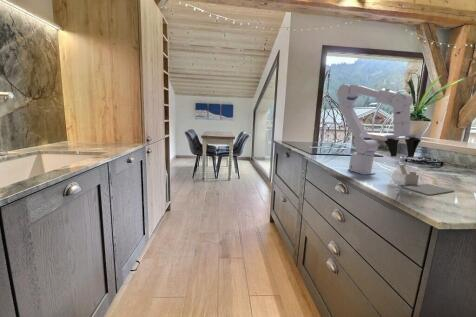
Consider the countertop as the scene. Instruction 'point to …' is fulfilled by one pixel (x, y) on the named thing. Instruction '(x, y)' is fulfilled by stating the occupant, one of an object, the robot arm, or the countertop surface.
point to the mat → (428, 189)
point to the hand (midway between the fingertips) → (402, 156)
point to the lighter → (409, 176)
